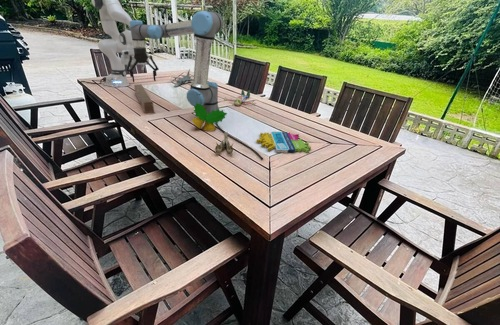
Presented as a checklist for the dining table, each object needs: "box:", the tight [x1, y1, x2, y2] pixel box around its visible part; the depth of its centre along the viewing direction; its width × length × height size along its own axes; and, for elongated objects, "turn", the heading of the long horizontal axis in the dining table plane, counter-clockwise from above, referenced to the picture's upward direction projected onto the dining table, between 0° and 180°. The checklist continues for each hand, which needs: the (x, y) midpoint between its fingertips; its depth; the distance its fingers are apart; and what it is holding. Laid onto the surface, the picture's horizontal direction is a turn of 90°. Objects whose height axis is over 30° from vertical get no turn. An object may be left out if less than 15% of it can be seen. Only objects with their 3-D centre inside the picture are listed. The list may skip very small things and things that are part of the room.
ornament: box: [191, 102, 228, 132], centre depth 162 cm, size 21×8×15 cm, turn 105°
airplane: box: [172, 69, 194, 88], centre depth 263 cm, size 38×32×10 cm
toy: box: [223, 89, 257, 106], centre depth 219 cm, size 28×7×30 cm
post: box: [133, 83, 155, 114], centre depth 201 cm, size 53×6×8 cm, turn 28°
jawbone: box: [214, 131, 234, 156], centre depth 136 cm, size 9×15×10 cm
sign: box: [256, 131, 312, 154], centre depth 152 cm, size 26×2×30 cm
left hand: (136, 70), depth 207 cm, fingers open, 8 cm apart
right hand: (144, 81), depth 178 cm, fingers open, 13 cm apart
